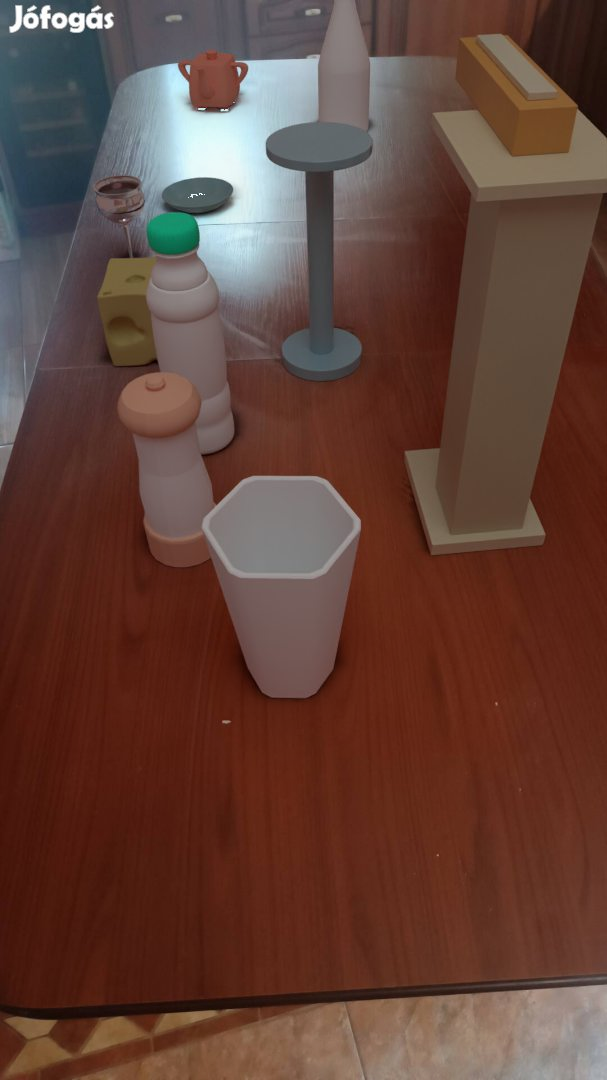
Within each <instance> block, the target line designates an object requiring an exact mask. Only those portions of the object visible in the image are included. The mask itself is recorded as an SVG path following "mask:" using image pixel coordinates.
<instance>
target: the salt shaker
mask: <svg viewBox="0 0 607 1080" xmlns="http://www.w3.org/2000/svg"><path fill="white" fill-rule="evenodd" d="M201 403H202V400H201V398H200V395H199V393H198V391H197V389H196V387H195V386H194V385H193V384H192V383H191V382H189V381H188V380H187V379H186V378H185V377H183V376H181V375H178V374H175V373H169V372H160V371H157V372H151V373H146V374H144V375H141V376H138V377H136V378H134V379H133V380H131V381H129V383H127V385H126V386H125V387H124V388H123V390H122V391H121V393H120V395H119V397H118V401H117V409H116V410H117V415H118V419H119V420H120V421H121V423H122V424H123V425H124V427H126V429H127V430H128V431H129V432H130V433H132V437H133V441H134V446H135V449H136V455H137V460H138V483H139V484H138V485H139V486H138V487H139V488H138V489H139V496H140V500H141V504H142V507H143V511H144V514H143V520H142V523H143V527H144V530H145V535H146V540H147V543H148V548H149V552H150V554H151V555H152V556H153V557H154V559H155V560H156V561H158V562H159V563H161V564H163V565H165V566H168V567H173V568H189V567H194V566H198V565H200V564H203V563H204V562H206V561H208V560H210V559H211V556H210V553H209V550H208V547H207V544H206V541H205V538H204V535H203V532H202V529H201V528H202V522H203V519H204V518H205V517H206V516H207V515H208V514H209V513H210V512H211V511H212V510H213V509H214V508H215V507H216V506H217V505H218V504H217V503H216V502H215V501H214V495H213V493H214V491H213V485H212V481H211V478H210V476H209V475H210V474H209V473H208V470H207V467H206V465H205V462H204V459H203V456H202V455H201V453H200V448H199V442H198V436H197V430H196V424H195V421H196V420H197V418H198V416H199V413H200V409H201Z"/></svg>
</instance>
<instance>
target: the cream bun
mask: <svg viewBox="0 0 607 1080" xmlns="http://www.w3.org/2000/svg"><path fill="white" fill-rule="evenodd" d="M454 79H455V81H456V82H457V83H458V85H459V86H460V87H461V88H462V90H463V92H464V93H465V94H466V96H467V97H468V99H470V101H471V102H472V104H473V105H474V107H475V108H476V110H479V112H480V113H481V114H482V116H483V117H484V118H485V120H486V121H487V123H488V124H489V125H490V127H491V128H492V129H493V131H494V132H495V133H496V135H497V136H498V138H499V139H500V140H501V142H502V143H503V144H504V146H505V147H506V148H507V150H508V151H509V153H510V154H511V155H512V156H524V155H539V154H554V153H568V152H569V148H570V143H571V138H572V133H573V128H574V123H575V118H576V114H577V109H578V110H579V105H578V104H577V103H576V102H575V101H574V100H573V99H572V98H571V97H570V96H569V95H568V94H567V93H566V92H565V91H564V90H563V89H562V88H561V87H560V86H559V85H558V84H557V83H556V82H555V81H554V80H553V79H552V78H551V77H550V76H549V75H548V74H547V73H546V72H545V71H544V70H543V69H542V68H541V67H540V66H539V65H538V64H537V63H536V62H535V61H534V60H533V59H532V58H531V57H530V56H529V55H528V54H527V53H526V52H525V51H524V50H523V49H522V48H521V46H519V45H518V44H517V43H516V42H515V41H514V40H513V39H512V38H511V37H510V36H509V35H508V34H504V35H503V34H502V33H492V34H491V33H490V34H488V33H487V34H477V35H476V36H469V37H468V36H467V37H459V38H458V46H457V56H456V67H455V76H454Z"/></svg>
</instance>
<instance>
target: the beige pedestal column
mask: <svg viewBox="0 0 607 1080" xmlns="http://www.w3.org/2000/svg"><path fill="white" fill-rule="evenodd" d="M431 116H432V117H431V128H432V129H433V131H434V133H435V135H436V136H437V138H438V140H439V141H440V144H441V145H442V146H443V148H444V150H445V151H446V153H447V155H448V157H449V158H450V160H451V162H452V163H453V165H454V167H455V168H456V170H457V172H458V173H459V175H460V177H461V178H462V180H463V182H464V183H465V185H466V187H467V189H468V191H469V192H470V200H469V201H470V202H469V208H468V217H467V224H466V235H465V241H464V250H463V258H462V264H461V265H462V267H461V274H460V282H459V290H458V292H459V293H458V299H457V307H456V314H455V324H454V329H453V330H454V332H453V338H452V348H451V357H450V363H449V371H448V381H447V387H446V397H445V404H444V414H443V420H442V429H441V437H440V445H439V447H435V448H424V449H413V450H405V451H404V456H403V457H404V458H403V463H404V467H405V470H406V474H407V477H408V480H409V484H410V488H411V492H412V495H413V497H414V501H415V504H416V508H417V512H418V514H419V519H420V522H421V525H422V526H421V527H422V529H423V533H424V536H425V539H426V543H427V547H428V550H429V554H430V556H440V555H450V554H460V553H461V554H462V553H472V552H482V551H493V550H495V551H496V550H504V549H515V548H516V549H517V548H526V547H538V546H543V545H544V542H545V540H546V539H545V538H546V536H547V534H546V532H545V529H544V527H543V524H542V522H541V520H540V517H539V516H538V514H537V511H536V509H535V507H534V504H533V502H532V500H531V495H532V491H533V487H534V482H535V477H536V474H537V470H538V464H539V461H540V456H541V454H542V453H541V452H542V449H543V445H544V441H545V436H546V433H547V428H548V424H549V420H550V415H551V411H552V406H553V404H554V398H555V395H556V391H557V386H558V382H559V378H560V375H561V369H562V365H563V362H564V357H565V353H566V349H567V344H568V341H569V336H570V333H571V328H572V325H573V321H574V320H573V319H574V316H575V311H576V309H577V304H578V300H579V295H580V291H581V287H582V282H583V279H584V274H585V270H586V266H587V263H588V258H589V254H590V249H591V245H592V241H593V237H594V233H595V229H596V224H597V220H598V217H599V212H600V207H601V203H602V199H603V196H604V194H607V137H606V136H605V135H604V134H603V132H601V131H600V130H599V129H598V127H596V126H595V125H594V124H593V123H592V122H591V120H590V119H588V118H587V117H586V116H585V115H584V114H583V112H581V110H580V109H579V108H578V109H577V114H576V118H575V123H574V128H573V133H572V138H571V143H570V148H569V152H568V153H554V154H539V155H524V156H512V155H511V154H510V153H509V151H508V150H507V148H506V147H505V146H504V144H503V143H502V142H501V140H500V139H499V138H498V136H497V135H496V133H495V132H494V131H493V129H492V128H491V127H490V125H489V124H488V123H487V121H486V120H485V118H484V117H483V116H482V114H481V113H480V112H479V110H478V109H470V110H455V111H439V112H437V111H436V112H432V115H431Z"/></svg>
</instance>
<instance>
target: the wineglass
mask: <svg viewBox="0 0 607 1080" xmlns="http://www.w3.org/2000/svg"><path fill="white" fill-rule="evenodd" d="M141 186H142V181H141V179H140V178H138V177H137V176H134V175H127V174H117V175H110V176H107V177H103V178H101V179H99V180H97V181H96V182H95V183H94V184H93V186H92V188H93V191H94V192H95V194H96V195H95V204H96V207H97V209H98V211H99V214H100V215H102V217H104V218H105V219H107V220H108V221H110V222H111V223H114V224H118V225H119V226H120V227H122V230H123V234H124V238H125V242H126V247H127V251H128V252H127V253H128V255H129V258H134V256H133V249H132V245H131V244H132V243H131V236H130V230H129V225H130V224H131V223H132V222H133V221H135V220H137V219H138V218H139V217H140V215H141V214H142V212H143V211H144V207H145V203H146V199H145V195H144V194H145V193H144V192H143V190H142V189H141Z"/></svg>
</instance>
